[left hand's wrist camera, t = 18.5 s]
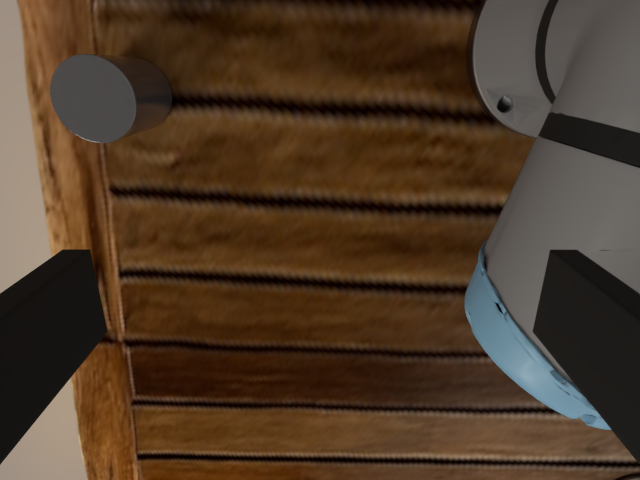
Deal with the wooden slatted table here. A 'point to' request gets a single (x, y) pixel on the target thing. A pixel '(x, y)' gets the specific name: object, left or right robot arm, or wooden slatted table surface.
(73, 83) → the dark grey cylinder
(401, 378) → the wooden slatted table surface
